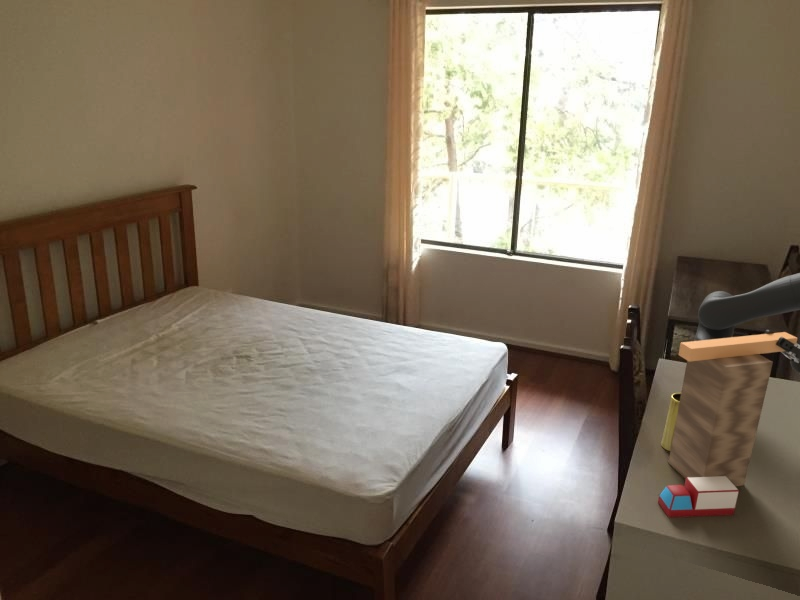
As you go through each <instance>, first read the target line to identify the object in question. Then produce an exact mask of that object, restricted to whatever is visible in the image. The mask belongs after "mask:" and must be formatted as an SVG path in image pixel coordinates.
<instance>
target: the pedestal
mask: <svg viewBox="0 0 800 600" xmlns="http://www.w3.org/2000/svg"><path fill="white" fill-rule="evenodd" d="M773 363H774V362H773V360H770V359H768V358H766V357H765V356H763V355H761V354H754V355H745V356H736V357H726V358H717V359H708V360H699V361H690V362H689V361H687V360H686V365H685V369H684V376H683V382H682V387H681V392H680V393H681V397H680V402H679V408H678V413H677V418H676V424H675V429H674V435H673V440H672V446H671V451H669V457H668V458H669V459H668V464H669V465H670V466H671V467H672V468H673V469H674V470H675V471H676V472H678V473H679V474H680V475H681V476H682V478H684V479H685V480H686V478H687V477H716V476H726V477H727V478H728V479H729V480H730V481H731V482H732V484H733V485H734V486H735V487H741V486H745V483H746V480H747V479H746V478H747V474H748V469H749V466H750V462H751V458H752V453H753V449H754V445H755V440H756V436H757V432H758V428H759V424H760V420H761V419H760V418H761V414H762V412H763V411H762V410H763V406H764V403H765V397H766V393H767V389H768V385H769V381H770V376H771V372H772V367H773Z"/></svg>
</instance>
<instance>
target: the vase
mask: <svg viewBox="0 0 800 600" xmlns="http://www.w3.org/2000/svg"><path fill="white" fill-rule="evenodd" d="M680 397H681V392H675V393H674V392H673V394H671V396H670V400H669V405H668V406H669V407H668V412H667V416H666V421H665V426H664V429H663V433H662V440H661V442H660V445H661V447H662V448H663V449H665V450H666V451H667V452H670V451H671V446H672V440H673V435H674V429H675V424H676V418H677V413H678V408H679V402H680Z"/></svg>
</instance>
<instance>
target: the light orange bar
mask: <svg viewBox="0 0 800 600" xmlns="http://www.w3.org/2000/svg"><path fill="white" fill-rule="evenodd" d="M780 337H784V338H785V339H787V340H788V341H790V342H792V343H794V344H796V343H798V342H797V341H798V337H796V336H795V335H793V334H790V333H788V332H786V331H783V332H773V333H772V334H764V333H761V334H751V335H742V336H733V337H730V338H721V339H711V340H701V341H694V340H693V341H692V340H691V341H682V342H680V343H679V344H680V346H679V348H678V356H680V357H681V358H682V359H684V360H686V362H687V361H689V362H690V361H699V360H708V359H717V358H726V357H736V356H745V355H754V354H760V355H761V354H771V353H779V352H780V353H781V351H785V350H784V349H782V348H780V347H779V346H777V345H776V343H777V341H778V339H779V338H780Z"/></svg>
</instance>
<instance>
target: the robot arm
mask: <svg viewBox="0 0 800 600" xmlns="http://www.w3.org/2000/svg"><path fill="white" fill-rule="evenodd" d="M795 311H796V312H797V311H800V272H798V273H795V274H789V275H787V276H784V277H781V278H778V279H776V280H774V281H771V282H769V283H767V284H765V285H762V286H761V287H759V288H756V289H753V290H752V291H749V292H746V293H742V294H737V295H733V294H731V293H729V292H727V291H724V290H718V291H717V290H715V291H713V292H710V293H709V294H707V295H706V296H705V298H704V299H703V301H702V303H701V304H700V306H699V308H698V313H697V318H698V326H697V329H696V333H695V336H694V340H693V341H701V340H711V339H721V338H730V337H734V336H733V335H734V332H735V327H736V326H737V325H740V324H742V323H746V322H749V321H752V320H755V319H759V318H763V317H764V318H765V317H771V316H775V315H776V316H777V315H781V314H786V313H790V312H795ZM772 333H774V332H773V331H772V330H769V329H766V330H765V331H764V333H763V334H772ZM776 345H777V346H779V347H780V348H782V349H784V350H785V351H781V352H780V353H782V354H783V355H784V356H785V357H786V358H788V359H789V360H790V361H789V363H790V367H791V368H792V370H794V371H795V372H796V373H798V374H799V375H800V344H799V343H798V342H796V344H794V343H792V342H790V341H788V340H787V339H785V338H784V337H780V338H779V339H778V341H777V343H776Z"/></svg>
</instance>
